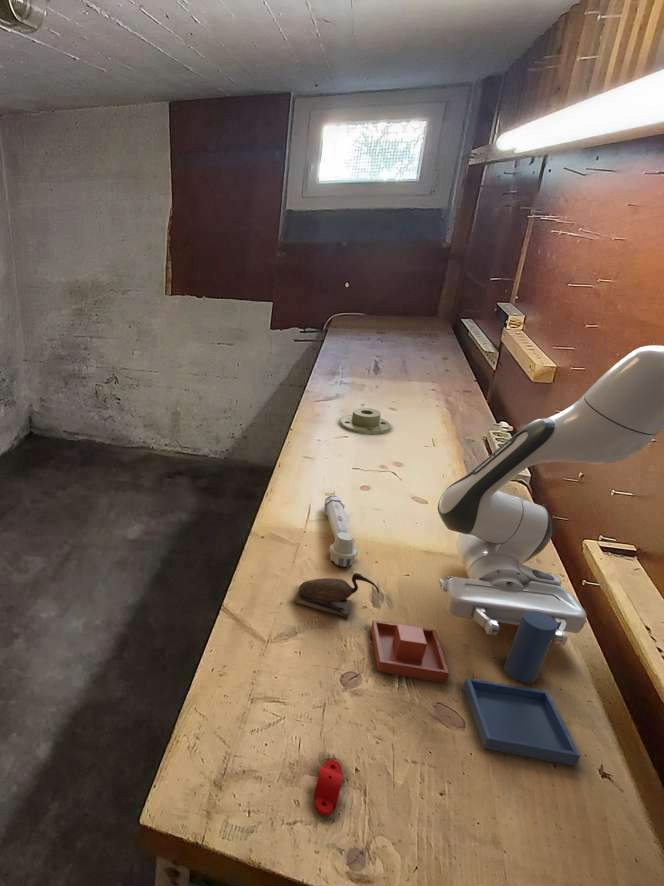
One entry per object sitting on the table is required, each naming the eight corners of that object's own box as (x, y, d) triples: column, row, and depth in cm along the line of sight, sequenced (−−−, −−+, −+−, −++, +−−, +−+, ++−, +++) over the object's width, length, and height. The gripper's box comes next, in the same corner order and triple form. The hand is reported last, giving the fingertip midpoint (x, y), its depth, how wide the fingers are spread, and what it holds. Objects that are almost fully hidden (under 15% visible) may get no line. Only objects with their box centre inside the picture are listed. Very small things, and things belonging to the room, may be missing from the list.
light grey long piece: (345, 495, 137) (361, 539, 113) (341, 520, 139) (357, 568, 116) (322, 493, 138) (334, 536, 115) (319, 518, 140) (330, 565, 117)
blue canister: (530, 665, 92) (550, 613, 88) (540, 685, 89) (562, 632, 84) (500, 660, 94) (518, 608, 89) (509, 680, 90) (528, 627, 85)
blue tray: (544, 700, 86) (548, 691, 85) (575, 766, 76) (580, 755, 75) (462, 687, 89) (466, 677, 88) (483, 748, 79) (487, 738, 78)
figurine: (375, 610, 105) (383, 573, 101) (371, 625, 102) (380, 587, 98) (299, 589, 112) (304, 553, 108) (294, 602, 108) (299, 565, 104)
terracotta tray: (432, 638, 98) (435, 629, 98) (446, 682, 90) (449, 673, 89) (370, 628, 101) (372, 619, 100) (377, 671, 92) (380, 661, 91)
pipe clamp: (333, 819, 71) (335, 808, 70) (310, 809, 72) (312, 798, 71) (344, 767, 77) (346, 757, 76) (323, 759, 78) (325, 748, 77)
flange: (384, 404, 189) (338, 404, 191) (397, 421, 176) (348, 420, 178) (382, 417, 192) (336, 416, 193) (395, 434, 178) (346, 433, 180)
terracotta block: (417, 645, 96) (422, 627, 95) (422, 662, 93) (427, 644, 91) (392, 641, 97) (396, 623, 96) (396, 658, 94) (400, 640, 92)
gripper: (440, 562, 103) (459, 611, 91) (569, 577, 98) (607, 631, 86) (433, 589, 106) (450, 640, 94) (558, 605, 101) (593, 662, 89)
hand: (526, 636), depth 90 cm, fingers open, 8 cm apart
